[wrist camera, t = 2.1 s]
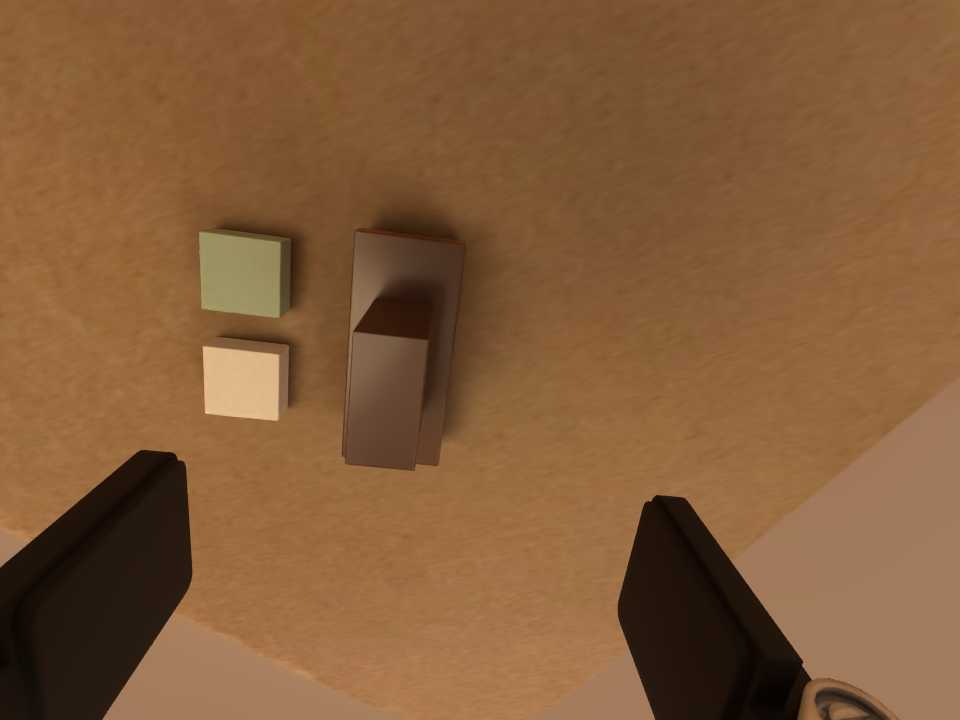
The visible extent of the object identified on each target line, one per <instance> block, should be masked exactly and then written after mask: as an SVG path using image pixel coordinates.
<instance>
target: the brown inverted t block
mask: <svg viewBox="0 0 960 720" xmlns="http://www.w3.org/2000/svg"><path fill="white" fill-rule="evenodd" d="M465 250H466V244H465V242H464V241H458V240H450V239H443V238H435V237H428V236H420V235H413V234H405V233H398V232H391V231H383V230H376V229H368V228H359V229H357V230H355V234H354V251H353V268H352V286H351V303H350V320H349V337H348V355H347V372H346V389H345V406H344V424H343V441H342V457H345V464H348V465H359V466H369V467H380V468H390V469H401V470H412V471H414V470H415V465H416V464H422V465H432V466H438V465H439V457H440V449H441V441H442V433H443V425H444V417H445V409H446V401H447V393H448V385H449V377H450V369H451V361H452V353H453V345H454V337H455V329H456V321H457V313H458V306H459V298H460V290H461V282H462V274H463V266H464V258H465Z"/></svg>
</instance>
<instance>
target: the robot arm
mask: <svg viewBox="0 0 960 720" xmlns="http://www.w3.org/2000/svg"><path fill="white" fill-rule="evenodd" d="M191 579H192V557H191V541H190V525H189V509H188V493H187V477H186V466H185V463H184V462H183V461H178V459H177V456H176V454H174V453H172V452H160V451H149V450H141V451H139V452H137V453H136V454H135V455H133V456H132V457H131V458H130V459H129V460H128V461H126V462H125V463H124V464H123V465H122V466H120V467H119V468H118V469H117V470H116V471H114V472H113V473H112V474H111V475H110V476H109V477H107V478H106V479H105V480H104V481H103V482H101V483H100V484H99V485H98V486H97V487H95V488H94V489H93V490H92V491H91V492H90V493H88V494H87V495H86V496H85V497H84V498H82V499H81V500H80V501H79V502H78V503H76V504H75V505H74V506H73V507H72V508H70V509H69V510H68V511H67V512H66V513H65V514H63V515H62V516H61V517H60V518H59V519H57V520H56V521H55V522H54V523H53V524H51V525H50V526H49V527H48V528H47V529H46V530H44V531H43V532H42V533H41V534H40V535H38V536H37V537H36V538H35V539H34V540H32V541H31V542H30V543H29V544H28V545H27V546H25V547H24V548H23V549H22V550H21V551H19V552H18V553H17V554H16V555H15V556H13V557H12V558H11V559H10V560H9V561H7V562H6V563H5V564H4V565H3V566H2V567H1V568H0V720H102V719H103V717H104V716H105V714H106V713H107V711H108V710H109V708H110V707H111V705H112V704H113V702H114V701H115V699H116V698H117V696H118V695H119V693H120V692H121V690H122V689H123V687H124V686H125V684H126V683H127V681H128V680H129V678H130V677H131V675H132V674H133V672H134V671H135V669H136V668H137V666H138V665H139V663H140V662H141V660H142V659H143V657H144V655H145V654H146V653H147V651H148V650H149V648H150V647H151V645H152V644H153V642H154V640H155V639H156V637H157V636H158V634H159V633H160V631H161V630H162V628H163V627H164V625H165V624H166V622H167V621H168V619H169V618H170V616H171V615H172V613H173V612H174V610H175V609H176V607H177V606H178V604H179V603H180V601H181V600H182V598H183V597H184V595H185V594H186V592H187V590H188V588H189V586H190V583H191ZM618 618H619V622H620V625H621V627H622V630H623V633H624V635H625V638H626V641H627V644H628V646H629V649H630V652H631V654H632V657H633V660H634V663H635V665H636V668H637V671H638V674H639V676H640V679H641V682H642V684H643V687H644V690H645V693H646V695H647V698H648V701H649V703H650V706H651V709H652V711H653V714H654V717H655V720H900V719H899V718H898V717H897V716H896V715H895V714H894V713H893V712H892V711H890V710H889V709H888V708H887V707H886V706H885V705H883V704H882V703H881V702H880V701H879V700H877V699H875V698H874V697H872V696H871V695H869V694H868V693H866V692H864V691H863V690H861V689H859V688H857V687H854V686H852V685H850V684H848V683H845V682H842V681H838V680H834V679H830V678H822V679H821V678H820V679H815V680H813V681H812V679H811V678H810V676H809V675H808V674H807V672H806V671H805V669H804V668H803V667H802V663H803V661H802V659H801V658H800V657H799V655H798V654H797V652H796V651H795V650H794V648H793V647H792V645H791V644H790V643H789V641H788V640H787V639H786V637H785V636H784V634H783V633H782V632H781V630H780V629H779V627H778V626H777V625H776V623H775V622H774V620H773V619H772V618H771V616H770V615H769V614H768V612H767V611H766V610H765V608H764V607H763V605H762V604H761V602H760V601H759V600H758V598H757V597H756V596H755V594H754V593H753V591H752V590H751V589H750V587H749V586H748V584H747V583H746V582H745V580H744V579H743V577H742V576H741V575H740V573H739V572H738V570H737V569H736V568H735V567H734V565H733V564H732V562H731V561H730V559H729V558H728V557H727V555H726V554H725V552H724V551H723V550H722V548H721V547H720V546H719V544H718V543H717V541H716V540H715V539H714V537H713V536H712V534H711V533H710V532H709V530H708V529H707V527H706V526H705V525H704V523H703V522H702V521H701V519H700V518H699V516H698V515H697V514H696V512H695V511H694V509H693V508H692V507H691V505H690V504H689V503H688V501H687V500H686V499H685V498H682V497H673V496H661V495H657V496H655V497H654V498H653V499H652V502H650V501H647V502H646V503H645V504H644V506H643V510H642V513H641V517H640V521H639V525H638V529H637V533H636V536H635V540H634V544H633V548H632V552H631V555H630V559H629V563H628V567H627V571H626V574H625V578H624V582H623V586H622V590H621V593H620V597H619V601H618Z"/></svg>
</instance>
